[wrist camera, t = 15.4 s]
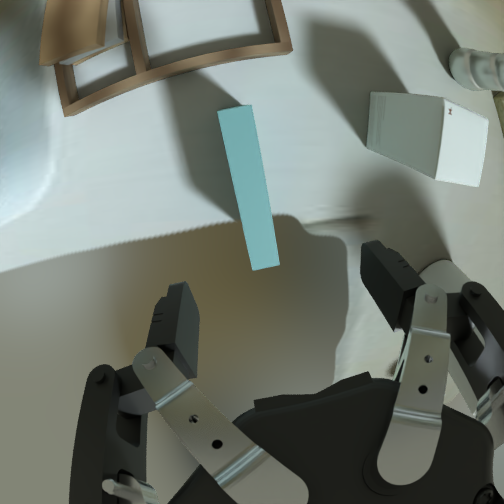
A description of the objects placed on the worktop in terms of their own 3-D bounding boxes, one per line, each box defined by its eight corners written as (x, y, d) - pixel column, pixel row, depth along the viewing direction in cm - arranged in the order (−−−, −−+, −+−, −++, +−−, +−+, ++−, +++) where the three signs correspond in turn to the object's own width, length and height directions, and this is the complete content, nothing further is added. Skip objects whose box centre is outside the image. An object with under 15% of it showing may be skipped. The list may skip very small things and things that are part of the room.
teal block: (242, 105, 25) (251, 104, 17) (265, 223, 32) (279, 264, 25) (218, 110, 25) (217, 111, 17) (244, 227, 32) (252, 270, 25)
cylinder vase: (408, 321, 46) (467, 421, 25) (399, 282, 40) (481, 402, 19) (454, 289, 44) (520, 375, 23) (452, 245, 38) (543, 341, 16)
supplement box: (364, 149, 29) (433, 181, 18) (369, 89, 25) (443, 94, 14) (410, 156, 29) (479, 189, 19) (416, 103, 26) (491, 118, 15)
